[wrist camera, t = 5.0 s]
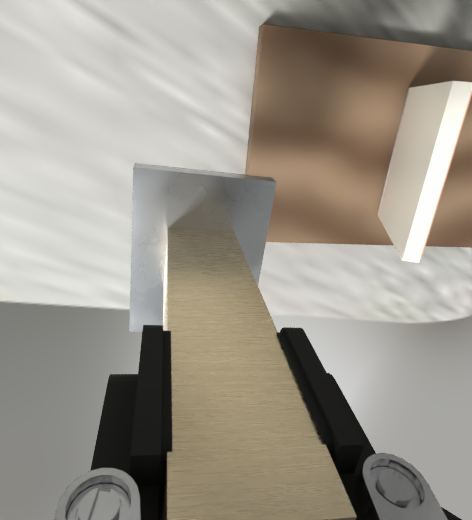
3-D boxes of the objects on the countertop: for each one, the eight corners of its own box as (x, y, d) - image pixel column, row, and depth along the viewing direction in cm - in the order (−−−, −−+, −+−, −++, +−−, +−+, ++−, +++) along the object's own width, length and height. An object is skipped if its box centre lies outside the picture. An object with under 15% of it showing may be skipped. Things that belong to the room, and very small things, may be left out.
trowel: (135, 163, 16) (41, 408, 4) (272, 177, 17) (500, 398, 5) (130, 322, 19) (72, 709, 7) (246, 324, 20) (352, 660, 9)
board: (259, 27, 27) (263, 24, 26) (540, 62, 31) (556, 61, 30) (239, 235, 34) (242, 241, 32) (475, 242, 38) (486, 247, 37)
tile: (453, 80, 19) (478, 82, 19) (406, 88, 29) (423, 89, 29) (401, 260, 23) (422, 263, 23) (376, 213, 33) (390, 214, 33)
